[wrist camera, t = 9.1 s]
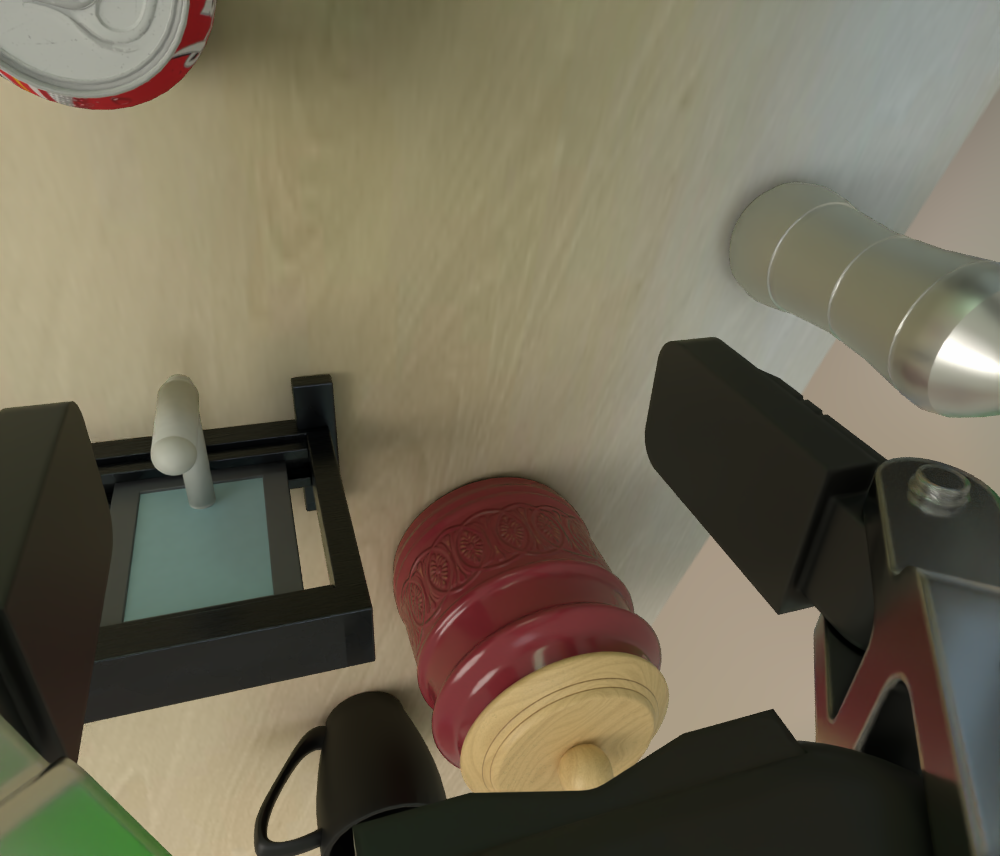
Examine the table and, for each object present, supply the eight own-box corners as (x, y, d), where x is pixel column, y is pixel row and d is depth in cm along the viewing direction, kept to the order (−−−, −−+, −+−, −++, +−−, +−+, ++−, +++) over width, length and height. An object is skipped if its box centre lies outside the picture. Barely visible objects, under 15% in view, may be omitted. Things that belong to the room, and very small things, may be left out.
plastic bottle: (835, 202, 43) (1205, 353, 27) (765, 304, 45) (1067, 499, 29) (762, 151, 40) (1134, 288, 24) (691, 263, 42) (985, 457, 26)
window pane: (269, 338, 35) (289, 469, 26) (286, 467, 38) (307, 619, 30) (79, 355, 32) (30, 505, 24) (117, 490, 36) (87, 662, 28)
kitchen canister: (439, 652, 52) (522, 911, 38) (350, 539, 45) (414, 811, 30) (600, 564, 53) (740, 788, 39) (540, 436, 45) (689, 658, 31)
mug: (257, 685, 48) (265, 822, 41) (431, 674, 53) (467, 795, 46) (243, 766, 52) (248, 905, 45) (406, 749, 57) (436, 872, 49)
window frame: (330, 373, 38) (380, 556, 27) (340, 496, 43) (387, 699, 31) (-98, 417, 33) (-264, 669, 21) (-37, 552, 37) (-150, 824, 26)
